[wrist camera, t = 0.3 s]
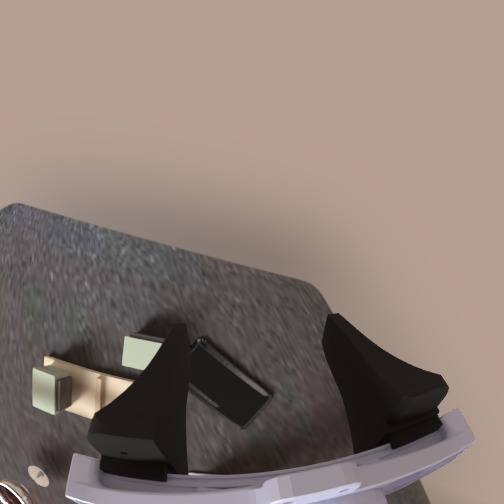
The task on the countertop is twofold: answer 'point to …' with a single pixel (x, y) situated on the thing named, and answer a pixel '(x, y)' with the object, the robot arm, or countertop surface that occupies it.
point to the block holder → (74, 388)
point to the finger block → (140, 350)
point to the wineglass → (21, 487)
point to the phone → (225, 386)
